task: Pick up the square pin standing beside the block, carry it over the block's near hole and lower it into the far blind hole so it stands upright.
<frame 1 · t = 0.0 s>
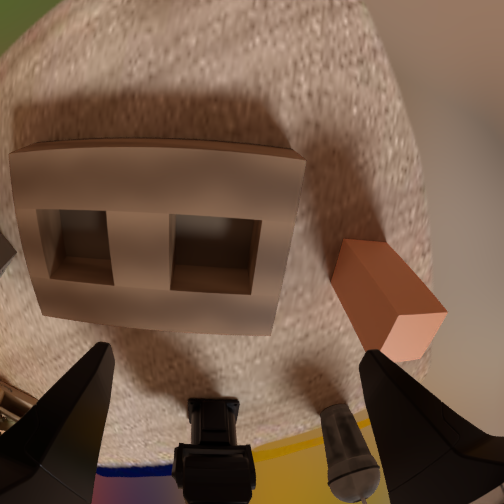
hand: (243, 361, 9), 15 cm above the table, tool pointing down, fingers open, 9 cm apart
pounding bench toy: (30, 409, 36), on the table
pin: (358, 262, 26), on the table
socket block: (150, 227, 22), on the table
beverage cup: (334, 410, 39), on the table
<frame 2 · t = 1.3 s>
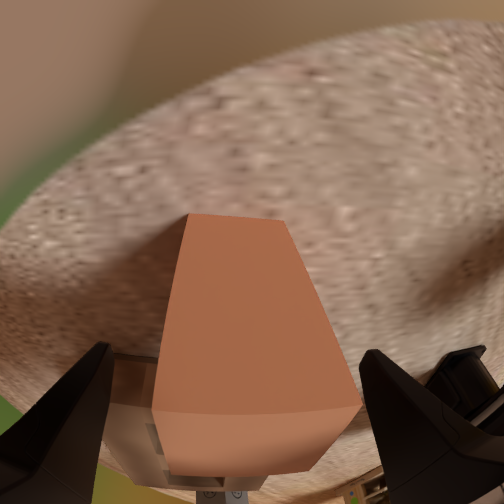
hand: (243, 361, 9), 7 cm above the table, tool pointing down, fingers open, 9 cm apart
pounding bench toy: (393, 465, 42), on the table
pin: (232, 258, 15), on the table
dice cube: (220, 477, 33), on the table
socket block: (193, 427, 23), on the table
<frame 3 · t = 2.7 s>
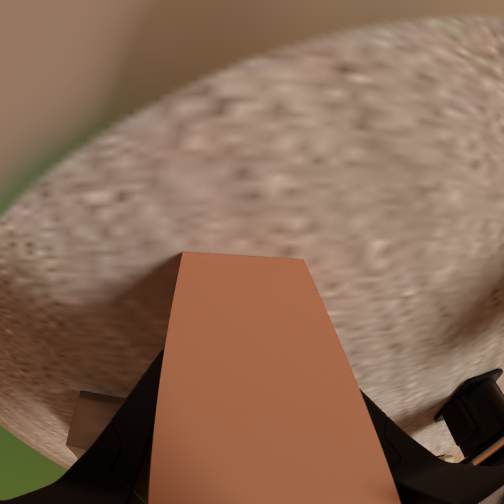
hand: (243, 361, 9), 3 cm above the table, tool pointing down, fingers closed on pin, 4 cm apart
pin: (238, 303, 12), on the table, touching gripper
socket block: (194, 461, 20), on the table
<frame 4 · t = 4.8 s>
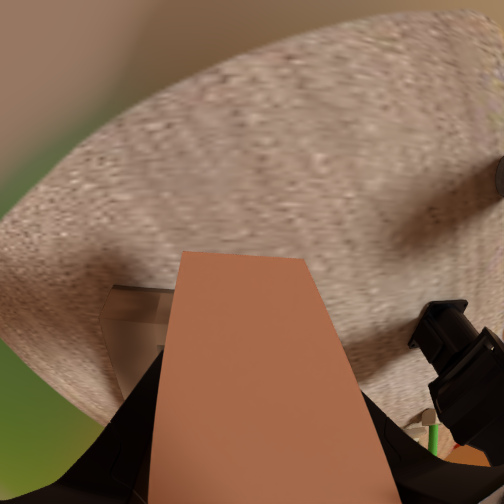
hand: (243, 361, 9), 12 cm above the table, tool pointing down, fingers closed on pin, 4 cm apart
pounding bench toy: (395, 435, 46), on the table
pin: (238, 303, 12), point 9 cm above the table, touching gripper
socket block: (198, 370, 28), on the table
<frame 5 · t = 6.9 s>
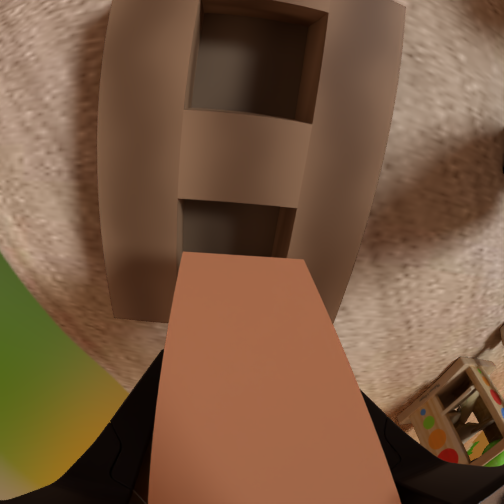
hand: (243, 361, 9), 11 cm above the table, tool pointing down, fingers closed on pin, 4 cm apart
pounding bench toy: (465, 371, 35), on the table
pin: (238, 303, 12), point 8 cm above the table, touching gripper
socket block: (238, 146, 17), on the table
when the fingers open (5 cm above the table, at t = 8.8 s): pin drops 2 cm, resting on socket block.
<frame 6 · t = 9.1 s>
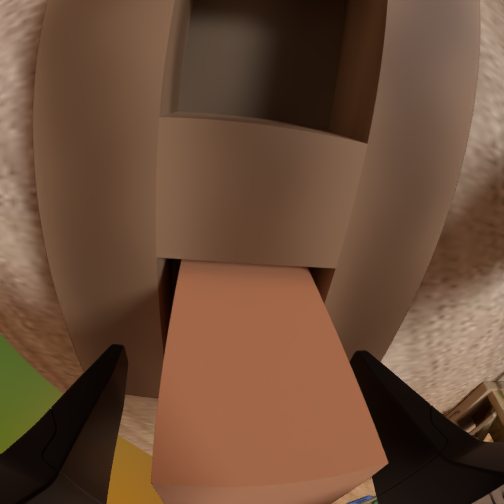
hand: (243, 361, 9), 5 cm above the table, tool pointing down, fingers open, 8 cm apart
pounding bench toy: (484, 393, 30), on the table
pin: (236, 277, 14), resting on socket block
socket block: (247, 167, 12), on the table
shape sorter: (369, 499, 61), on the table
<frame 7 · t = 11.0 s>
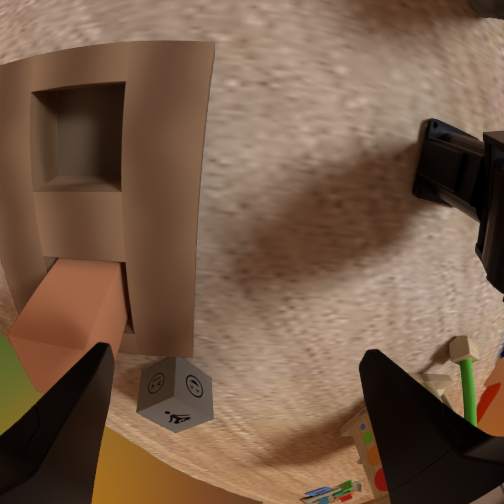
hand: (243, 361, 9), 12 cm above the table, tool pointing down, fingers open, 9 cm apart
pounding bench toy: (413, 385, 36), on the table
pin: (103, 269, 20), resting on socket block
dice cube: (176, 373, 28), on the table
socket block: (99, 202, 18), on the table
shape sorter: (332, 492, 68), on the table
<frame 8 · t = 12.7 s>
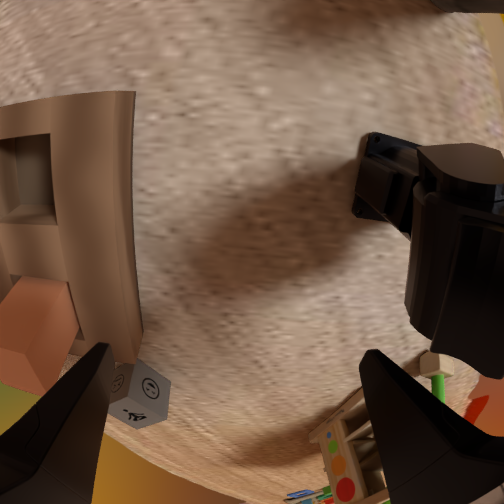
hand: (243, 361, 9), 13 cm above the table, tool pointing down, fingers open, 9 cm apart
pounding bench toy: (385, 397, 37), on the table
pin: (62, 282, 22), resting on socket block
dice cube: (139, 375, 29), on the table
socket block: (54, 227, 20), on the table
shape sorter: (317, 494, 69), on the table
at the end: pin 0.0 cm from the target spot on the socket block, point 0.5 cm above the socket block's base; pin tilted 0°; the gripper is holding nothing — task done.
